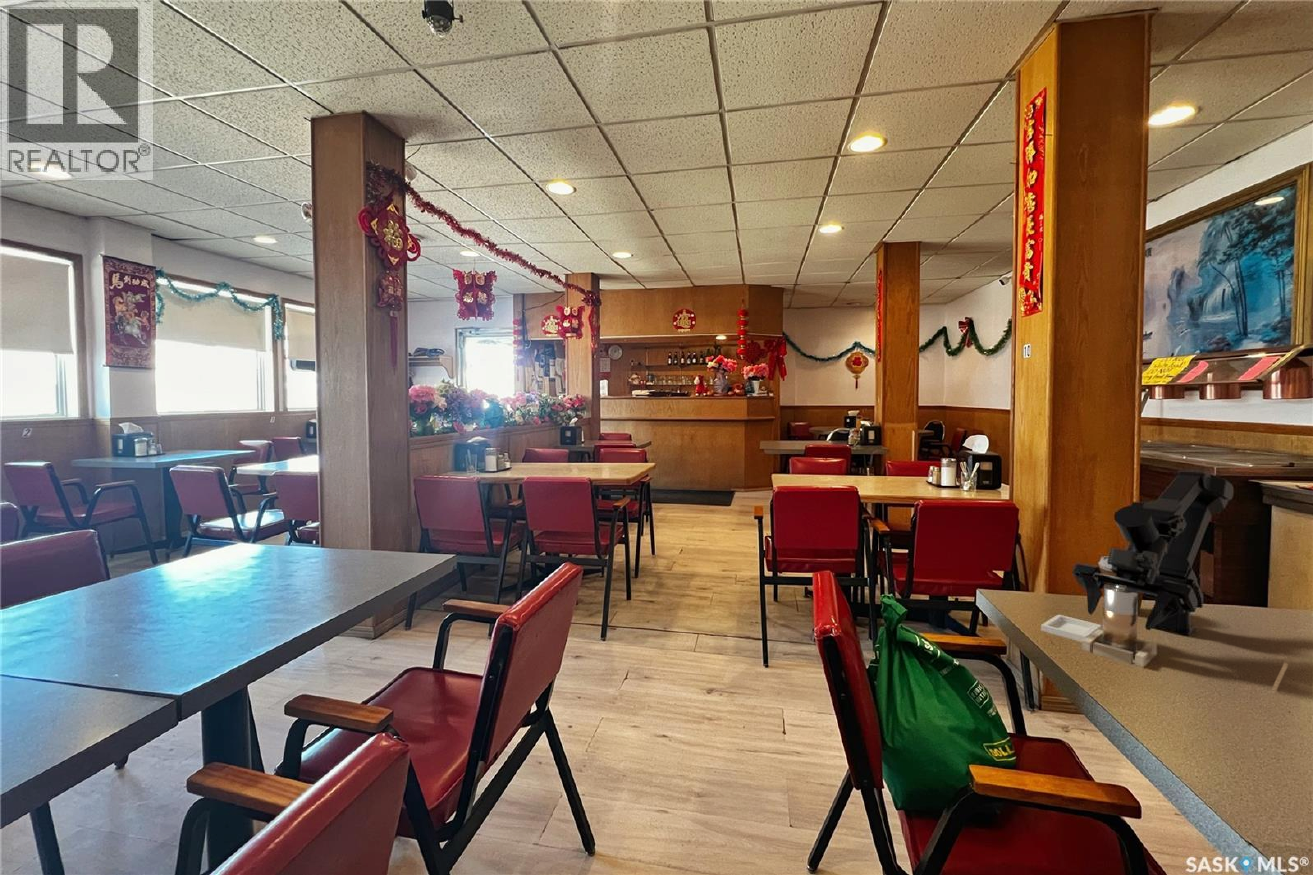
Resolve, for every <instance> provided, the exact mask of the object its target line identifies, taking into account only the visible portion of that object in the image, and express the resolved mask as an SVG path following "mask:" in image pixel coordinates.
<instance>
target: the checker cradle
mask: <svg viewBox="0 0 1313 875" xmlns="http://www.w3.org/2000/svg"><path fill="white" fill-rule="evenodd" d="M1081 644H1082V646H1081V647H1082V648H1081V651H1082V652H1085V653H1089V654H1092V655H1096V656H1100V657H1103V658H1107V659H1110V660H1114V661H1117V662H1120V663H1124V664H1127V665H1131V666H1135V667H1138V668H1141V669H1144V668H1145V667H1146V666H1147V665H1148V664H1149V663H1150V662H1151V661H1152V660H1153V659H1154V658H1155V657H1156V656H1157V654H1158V644H1157V643H1154V642H1150V641H1149V642H1147V643H1146V640H1143V639H1139V638H1137V644H1136V655H1135V657H1134V658H1133V652H1130V651H1127V650H1123V649H1119V648H1115V647H1112V646H1108V645H1104V644H1103V629H1102V630H1099V629H1098V630H1096V631H1095V632H1094V633H1092V634H1091V635H1090V636H1088V637H1087V638H1085V639H1084V640H1083V641H1082V642H1081Z"/></svg>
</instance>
